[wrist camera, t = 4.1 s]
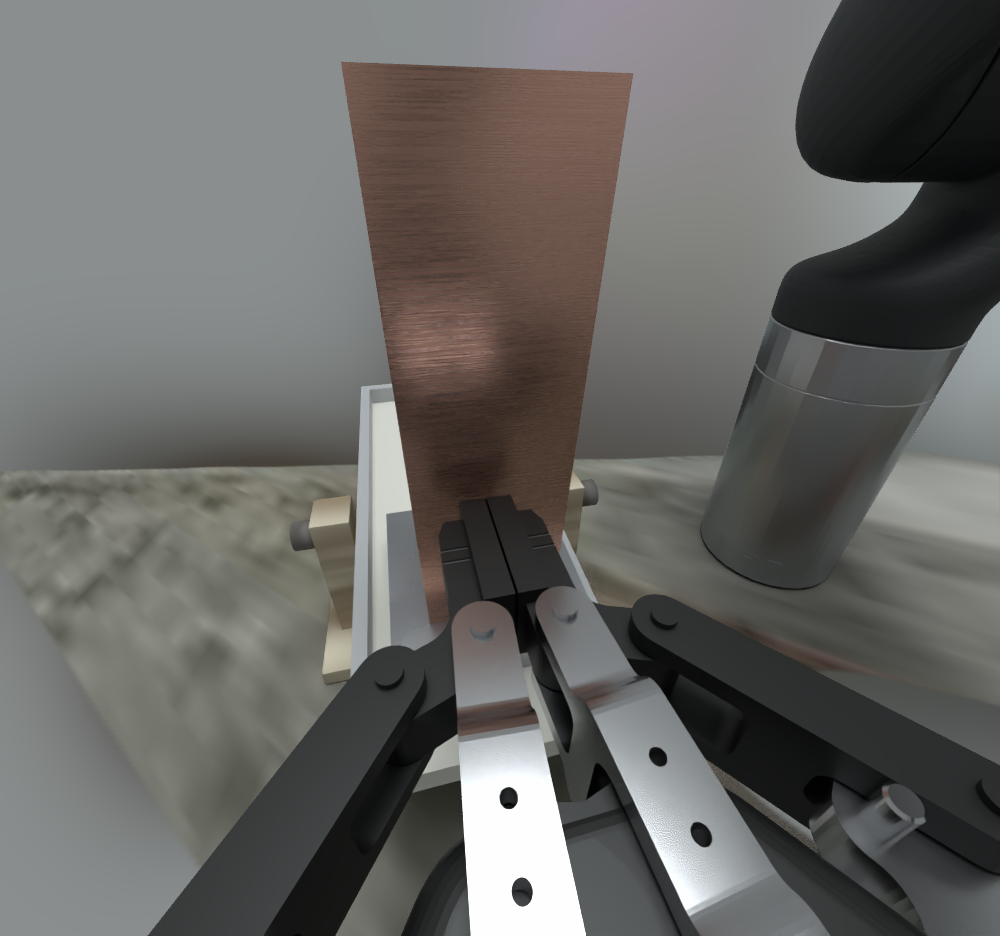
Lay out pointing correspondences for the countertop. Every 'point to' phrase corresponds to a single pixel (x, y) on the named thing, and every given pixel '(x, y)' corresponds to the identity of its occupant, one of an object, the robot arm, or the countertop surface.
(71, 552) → the countertop surface
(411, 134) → the block
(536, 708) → the beam
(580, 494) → the pivot stand
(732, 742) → the robot arm
